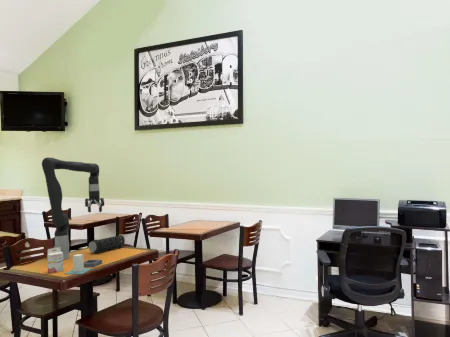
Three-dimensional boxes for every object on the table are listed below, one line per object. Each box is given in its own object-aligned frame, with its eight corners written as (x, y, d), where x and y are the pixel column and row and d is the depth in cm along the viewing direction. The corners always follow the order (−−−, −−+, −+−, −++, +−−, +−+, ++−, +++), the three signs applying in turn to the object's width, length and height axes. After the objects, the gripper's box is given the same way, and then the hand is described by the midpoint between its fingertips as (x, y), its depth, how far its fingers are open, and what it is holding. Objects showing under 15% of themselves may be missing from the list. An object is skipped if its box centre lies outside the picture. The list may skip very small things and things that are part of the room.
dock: (80, 267, 243) (80, 263, 243) (88, 263, 253) (88, 259, 253) (94, 267, 241) (94, 263, 241) (102, 263, 251) (101, 259, 251)
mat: (64, 274, 227) (64, 273, 227) (75, 268, 239) (75, 268, 239) (81, 274, 225) (81, 273, 225) (92, 268, 237) (92, 268, 237)
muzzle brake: (125, 247, 301) (124, 235, 301) (95, 255, 278) (95, 241, 278) (118, 246, 306) (117, 234, 306) (88, 253, 284) (87, 240, 284)
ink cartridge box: (49, 273, 230) (48, 250, 230) (47, 272, 234) (46, 249, 234) (64, 270, 236) (63, 247, 236) (61, 269, 240) (60, 246, 240)
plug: (73, 271, 230) (72, 255, 230) (77, 269, 235) (76, 254, 235) (79, 271, 230) (79, 255, 230) (83, 269, 234) (83, 254, 234)
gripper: (82, 191, 269) (83, 213, 269) (100, 190, 266) (101, 212, 266) (88, 190, 276) (89, 211, 276) (105, 189, 274) (106, 211, 274)
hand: (95, 212), depth 271 cm, fingers open, 8 cm apart
